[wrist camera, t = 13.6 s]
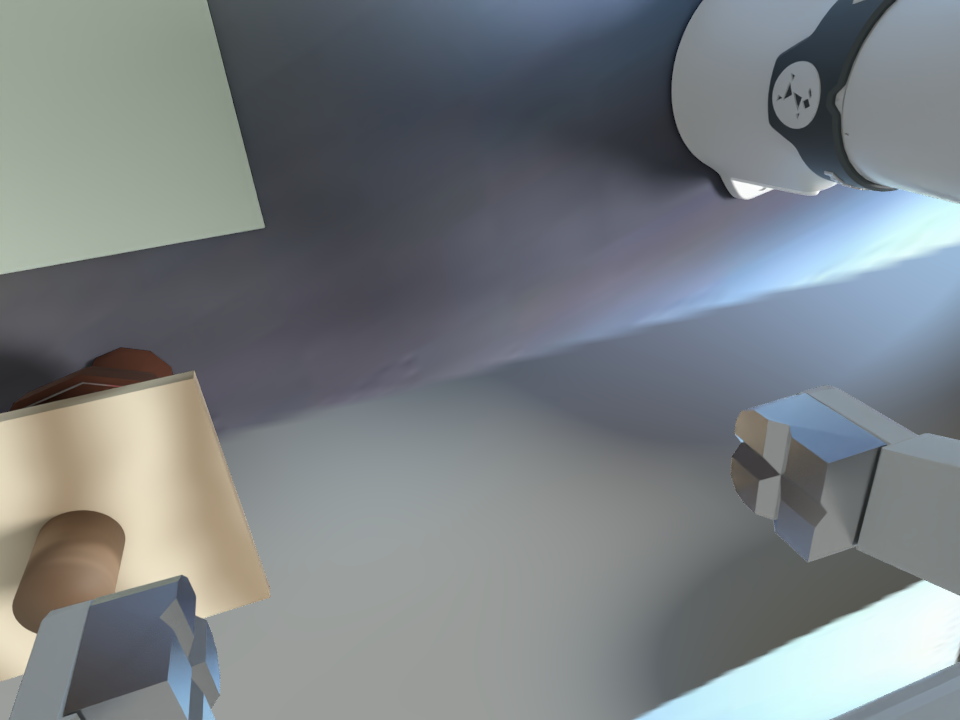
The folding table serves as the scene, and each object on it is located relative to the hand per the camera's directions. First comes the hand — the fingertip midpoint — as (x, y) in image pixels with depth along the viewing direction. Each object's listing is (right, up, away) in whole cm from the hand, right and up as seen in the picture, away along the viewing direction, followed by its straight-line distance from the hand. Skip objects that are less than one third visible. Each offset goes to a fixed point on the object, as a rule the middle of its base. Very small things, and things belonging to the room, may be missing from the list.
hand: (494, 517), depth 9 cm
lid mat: (-24, +17, +27) cm, 39 cm away
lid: (-19, -6, +22) cm, 30 cm away
